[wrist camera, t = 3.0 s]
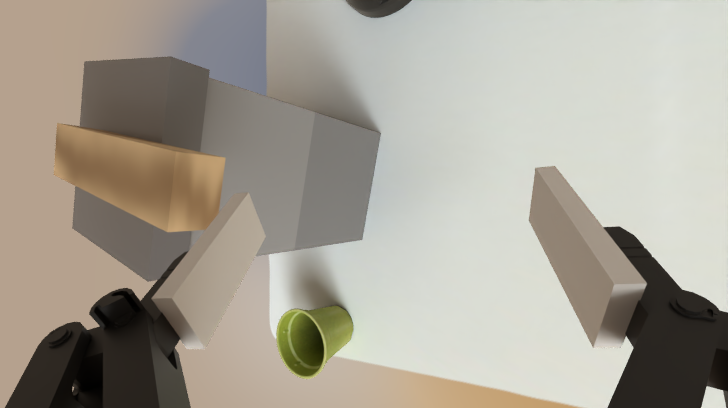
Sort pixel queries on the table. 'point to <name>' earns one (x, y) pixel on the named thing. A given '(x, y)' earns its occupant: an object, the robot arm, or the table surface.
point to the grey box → (242, 164)
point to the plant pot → (312, 338)
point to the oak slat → (142, 176)
